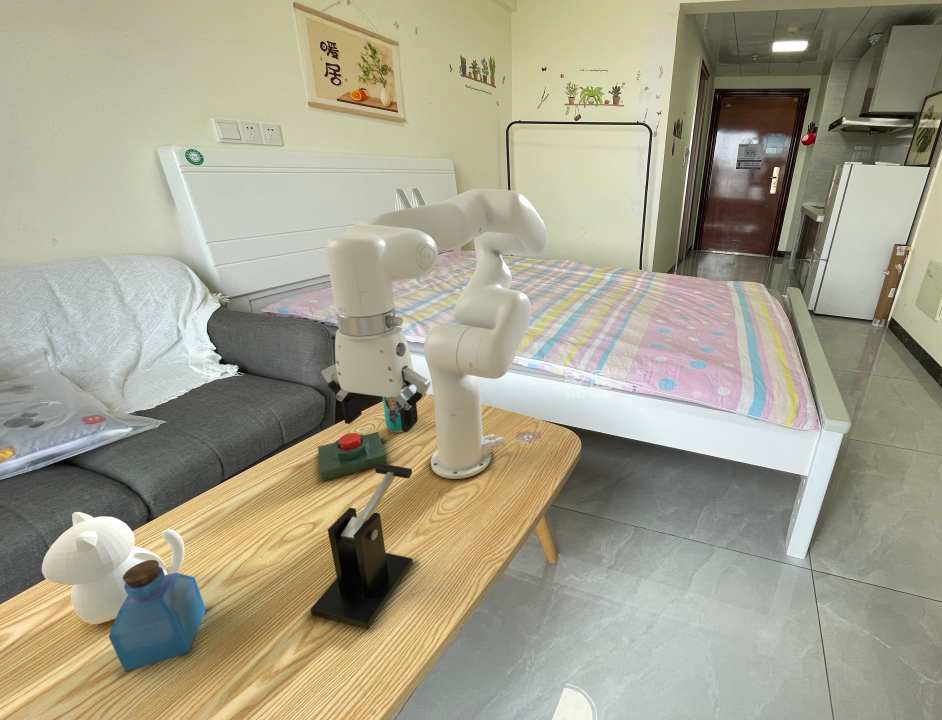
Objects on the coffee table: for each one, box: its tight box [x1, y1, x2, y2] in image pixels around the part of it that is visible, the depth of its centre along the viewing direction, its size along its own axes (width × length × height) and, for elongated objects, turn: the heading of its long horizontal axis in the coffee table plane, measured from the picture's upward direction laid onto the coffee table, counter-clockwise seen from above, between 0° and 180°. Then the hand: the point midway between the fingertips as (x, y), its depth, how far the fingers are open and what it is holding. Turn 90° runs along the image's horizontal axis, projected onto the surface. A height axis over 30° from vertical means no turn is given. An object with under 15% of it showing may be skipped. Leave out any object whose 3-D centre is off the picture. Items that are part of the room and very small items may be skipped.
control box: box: [317, 431, 388, 482], centre depth 93 cm, size 12×10×4 cm
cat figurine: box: [41, 511, 185, 625], centre depth 60 cm, size 9×12×15 cm
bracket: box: [309, 507, 414, 630], centre depth 63 cm, size 11×9×13 cm
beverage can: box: [382, 392, 409, 434], centre depth 104 cm, size 6×6×15 cm
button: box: [338, 432, 361, 450], centre depth 92 cm, size 4×4×2 cm
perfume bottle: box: [108, 560, 207, 672], centre depth 55 cm, size 6×6×12 cm
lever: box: [341, 463, 413, 545], centre depth 65 cm, size 12×6×2 cm, turn 169°
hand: (381, 423), depth 68 cm, fingers open, 9 cm apart
